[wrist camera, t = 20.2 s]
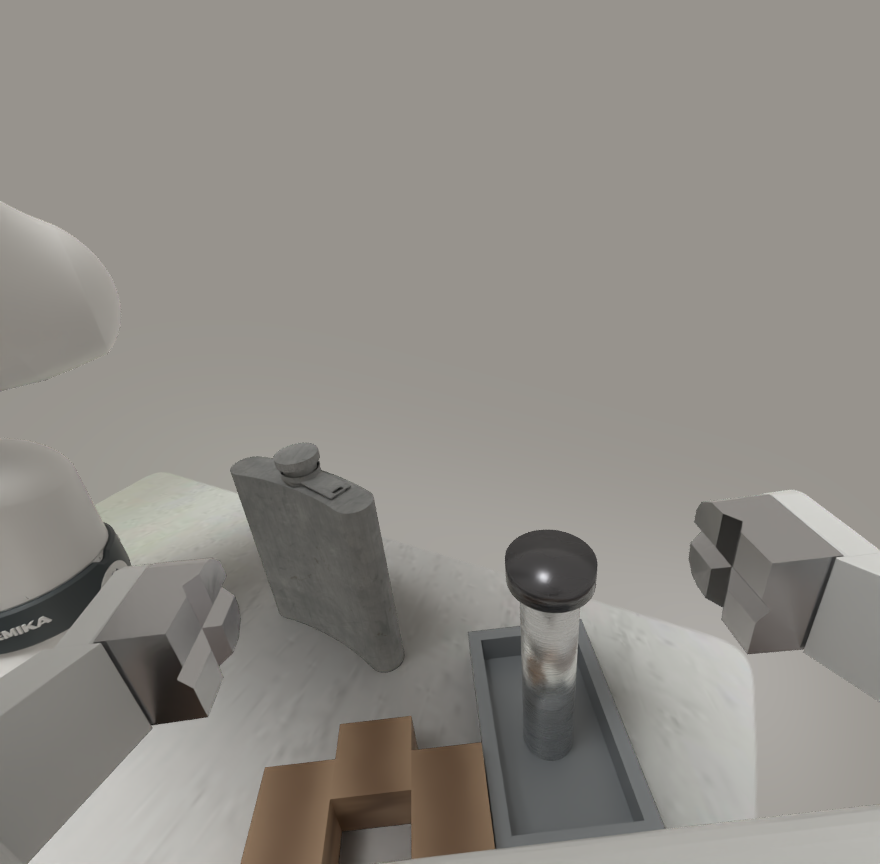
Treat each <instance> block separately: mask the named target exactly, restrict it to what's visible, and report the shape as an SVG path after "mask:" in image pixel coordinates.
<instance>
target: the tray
mask: <svg viewBox="0 0 880 864" xmlns="http://www.w3.org/2000/svg"><path fill="white" fill-rule="evenodd" d="M468 636H469V646H470V655H471V663H472V671H473V679H474V686H475V694H476V702H477V709H478V717H479V725H480V733H481V740H482V748H483V756H484V763H485V771H486V779H487V787H488V794H489V802H490V810H491V818H492V825H493V833H494V841H495V848H496V849H500V848H509V847H517V846H526V845H534V844H543V843H551V842H559V841H568V840H576V839H585V838H593V837H602V836H611V835H619V834H628V833H636V832H645V831H653V830H662V829H665V827H664V824H663V822H662V819H661V817H660V814H659V812H658V809H657V807H656V804H655V802H654V799H653V797H652V794H651V792H650V789H649V787H648V784H647V782H646V779H645V777H644V774H643V772H642V769H641V767H640V764H639V762H638V759H637V757H636V755H635V752H634V750H633V747H632V745H631V742H630V740H629V737H628V735H627V732H626V730H625V727H624V725H623V722H622V720H621V717H620V715H619V712H618V710H617V707H616V705H615V702H614V700H613V697H612V695H611V692H610V690H609V687H608V685H607V682H606V680H605V677H604V675H603V672H602V670H601V667H600V665H599V662H598V660H597V657H596V655H595V652H594V650H593V647H592V645H591V642H590V640H589V637H588V635H587V632H586V630H585V627H584V625H583V622H582V620H581V619H579V634H578V652H577V669H576V687H575V704H574V722H573V739H572V746H571V749H570V751H569V752H568V754H567V755H566V756H565V757H563V758H562V759H559V760H556V761H547V760H543V759H540V758H538V757H537V756H535V755H534V754H533V753H532V752H531V751H530V750H529V749H528V747H527V745H526V743H525V741H524V736H523V702H522V662H521V626H515V627H507V628H498V629H489V630H481V631H472V632H468Z"/></svg>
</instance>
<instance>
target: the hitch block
mask: <svg viewBox="0 0 880 864" xmlns="http://www.w3.org/2000/svg"><path fill="white" fill-rule="evenodd" d="M410 823H411V859H416V858H424V857H433V856H441V855H450V854H458V853H467V852H475V851H483V850H492V849H495V845H494V837H493V829H492V821H491V813H490V806H489V798H488V790H487V782H486V775H485V767H484V759H483V751H482V744H481V742H479V743H470V744H462V745H453V746H445V747H436V748H427V749H419V750H418V747H417V742H416V737H415V732H414V727H413V722H412V717H411V716H406V717H398V718H389V719H381V720H372V721H363V722H355V723H346V724H340V728H339V735H338V743H337V750H336V758H335V759H333V760H325V761H316V762H307V763H299V764H290V765H282V766H273V767H265V770H264V773H263V777H262V781H261V785H260V789H259V793H258V797H257V801H256V805H255V809H254V813H253V817H252V821H251V825H250V829H249V832H248V836H247V840H246V844H245V848H244V852H243V856H242V860H241V864H339V854H340V845H341V836H342V831H351V830H359V829H368V828H376V827H385V826H393V825H402V824H410Z"/></svg>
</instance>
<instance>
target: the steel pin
mask: <svg viewBox="0 0 880 864" xmlns="http://www.w3.org/2000/svg"><path fill="white" fill-rule="evenodd" d="M505 568H506V582H507V586H508V588H509V590H510V592H511V593H512V595H513V596H514V597H515V598H516V599H517V600H518V601H520V622H521V662H522V702H523V736H524V741H525V743H526V745H527V747H528V749H529V750H530V751H531V752H532V753H533V754H534V755H535V756H537V757H538V758H540V759H543V760H547V761H556V760H559V759H562V758H563V757H565V756H566V755H567V754H568V752H569V751H570V749H571V746H572V739H573V722H574V704H575V687H576V669H577V652H578V634H579V617H580V607H582V606H583V605H585V604H586V603H587V602H588V601H589V600H590V599H591V598H592V596H593V594H594V592H595V588H596V577H597V559H596V556H595V554H594V552H593V550H592V549H591V548H590V547H589V546H588V545H587V544H586V543H585V542H584V541H583V540H581V539H579V538H578V537H576V536H574V535H571V534H569V533H566V532H562V531H556V530H538V531H532V532H528V533H526V534H523V535H521V536H519V537H518V538H516V539H515V540H514V541H513V542H512V543H511V544H510V545H509V547H508V548H507V551H506V555H505Z"/></svg>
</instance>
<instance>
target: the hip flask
mask: <svg viewBox="0 0 880 864" xmlns="http://www.w3.org/2000/svg"><path fill="white" fill-rule="evenodd" d="M319 458H320V455H319V451H318V448H317V446H316V445H314V444H311V443H298V444H294V445H290V446H287V447H285V448H282V449H281V450H279V451H278V452H277V453H276V454H275V455H274V458H267V457H258V456H257V457H250V458H246V459H243V460H240V461H238V462H237V463H235V464H234V465H233V466H232V467H231V469H230V471H231V474H232V477H233V480H234V482H235V486H236V488H237V492H238V495H239V497H240V500H241V503H242V506H243V509H244V512H245V515H246V518H247V520H248V523H249V526H250V529H251V532H252V535H253V538H254V541H255V543H256V546H257V549H258V552H259V555H260V558H261V561H262V564H263V566H264V569H265V572H266V575H267V578H268V581H269V584H270V587H271V589H272V592H273V595H274V598H275V601H276V604H277V607H278V610H279V612H280V614H281V616H283V617H285V618H289V619H292V620H295V621H298V622H301V623H304V624H306V625H309V626H311V627H314V628H316V629H318V630H320V631H322V632H324V633H326V634H327V635H329V636H331V637H333V638H334V639H336V640H338V641H340V642H341V643H343V644H344V645H346V646H347V647H349V648H350V649H351V650H353V651H354V652H355V653H357V654H358V655H359V656H360V657H362V658H363V659H364V660H365V661H366V662H367V663H368V664H369V665H370V666H371V667H372V668H373V669H375V670H376V671H378V672H390V671H392V670H394V669H396V668H397V667H398V666H399V665H400V664H401V663H402V661H403V659H404V651H403V645H402V640H401V635H400V630H399V625H398V620H397V615H396V610H395V604H394V599H393V594H392V589H391V584H390V579H389V574H388V569H387V563H386V558H385V553H384V548H383V543H382V538H381V533H380V528H379V522H378V517H377V512H376V507H375V502H374V497H373V494H372V493H371V492H369V491H367V490H366V489H364V488H362V487H360V486H358V485H356V484H354V483H352V482H350V481H348V480H346V479H343V478H341V477H339V476H336V475H334V474H330V473H328V472H325V471H322V470H321V468H320V463H319V461H318V460H319Z"/></svg>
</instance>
